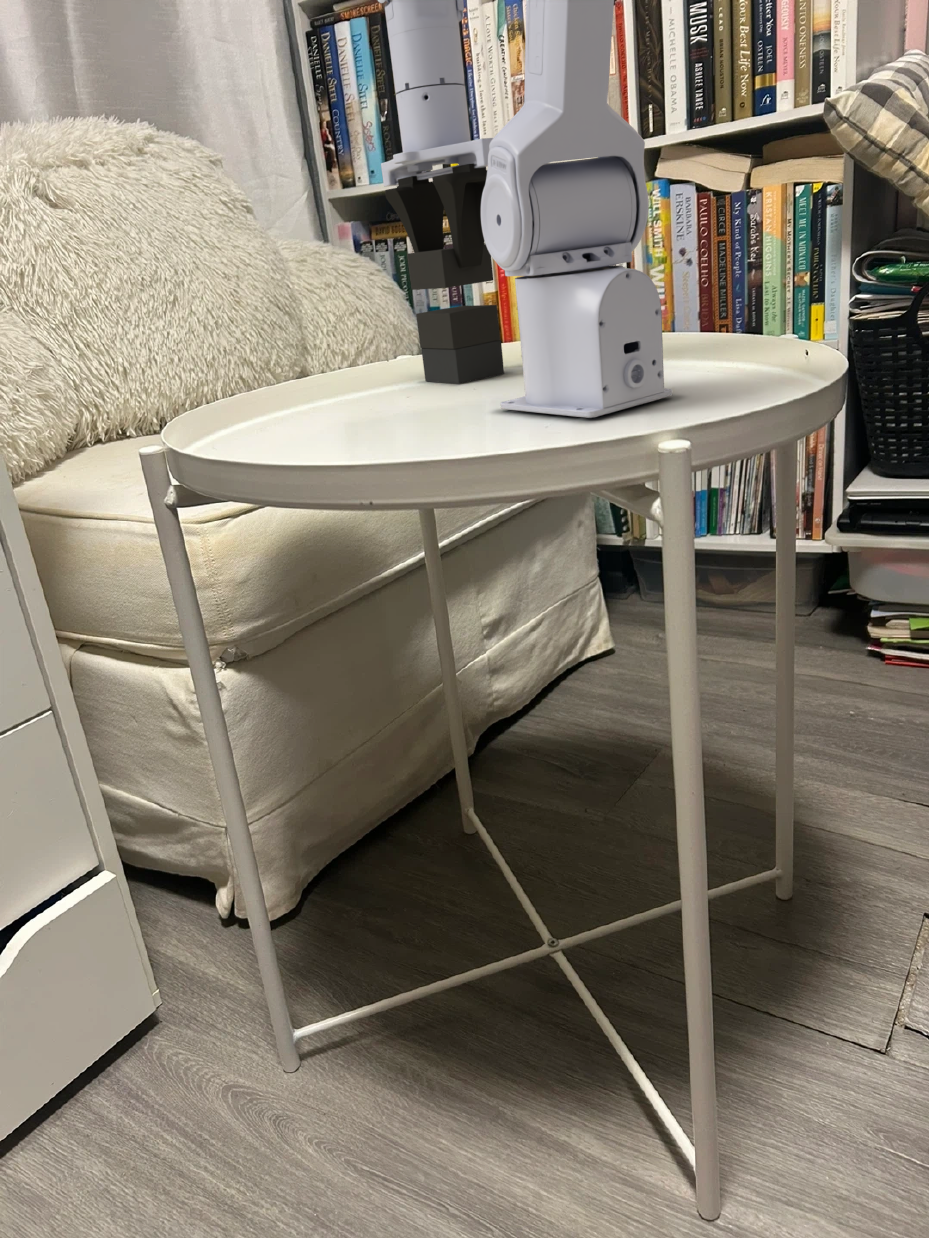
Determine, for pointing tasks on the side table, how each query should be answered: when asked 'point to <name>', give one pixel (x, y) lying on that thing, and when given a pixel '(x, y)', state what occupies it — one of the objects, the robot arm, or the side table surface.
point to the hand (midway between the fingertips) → (450, 268)
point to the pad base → (463, 363)
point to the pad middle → (458, 327)
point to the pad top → (446, 270)
